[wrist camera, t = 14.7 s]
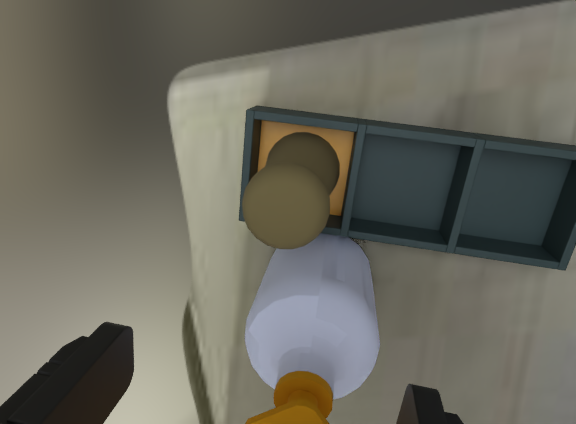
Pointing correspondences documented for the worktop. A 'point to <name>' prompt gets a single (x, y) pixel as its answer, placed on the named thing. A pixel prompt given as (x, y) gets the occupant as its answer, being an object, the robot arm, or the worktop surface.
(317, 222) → the cork
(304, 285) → the soap bottle
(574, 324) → the worktop surface
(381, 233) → the tray
